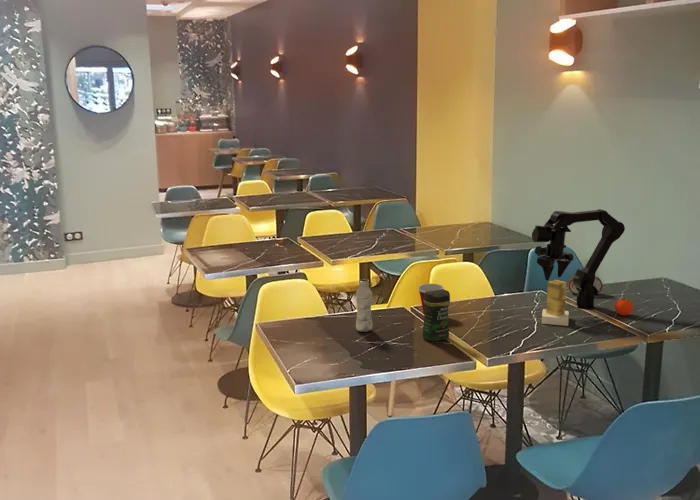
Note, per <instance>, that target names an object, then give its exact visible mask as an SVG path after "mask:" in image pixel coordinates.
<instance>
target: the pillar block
mask: <svg viewBox="0 0 700 500" xmlns="http://www.w3.org/2000/svg"><path fill="white" fill-rule="evenodd" d="M546 289H547V290H546V308H545V309H546V313H547V314H550V315H554V316H559V315H563V314H565V311H566V295H567V282H566V281H564V280H558V279H554V280H548V281H547V288H546Z"/></svg>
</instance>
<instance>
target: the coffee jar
mask: <svg viewBox="0 0 700 500" xmlns="http://www.w3.org/2000/svg"><path fill="white" fill-rule="evenodd" d="M450 295H451V293H450V292H449V291H448V290H446V289H445V288H444V289H440V290H434V291H427V292H425V293H424V305H425V315H424V314H423V325H422V333H421V335H422V338H423V339H424V340H425V341H427V342H429V341H430V342H433V343H434V342H439V341H440V342H441V341H445V340H448V339H449V338H450V326H449V306H450V303H451V296H450Z"/></svg>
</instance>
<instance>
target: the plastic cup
mask: <svg viewBox="0 0 700 500" xmlns="http://www.w3.org/2000/svg"><path fill="white" fill-rule="evenodd" d="M440 289H444V290H445V286H443V285H442V284H438V283H424V284H420V285H419V286H418V288H417V290H418V292H419V295H420V301H421V307H422V314H423V316H424V315H425V305H424V293H425V292H427V291H434V290H440Z"/></svg>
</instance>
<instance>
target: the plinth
mask: <svg viewBox="0 0 700 500" xmlns="http://www.w3.org/2000/svg"><path fill="white" fill-rule="evenodd" d="M569 313H570V312H569V310H565V314H563V315H559V316H554V315H550V314H547V313H546V308H543V309H542V313H541V324H542V325H543V324H544V325H553V326H554V325H555V326H566V327H569Z"/></svg>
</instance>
